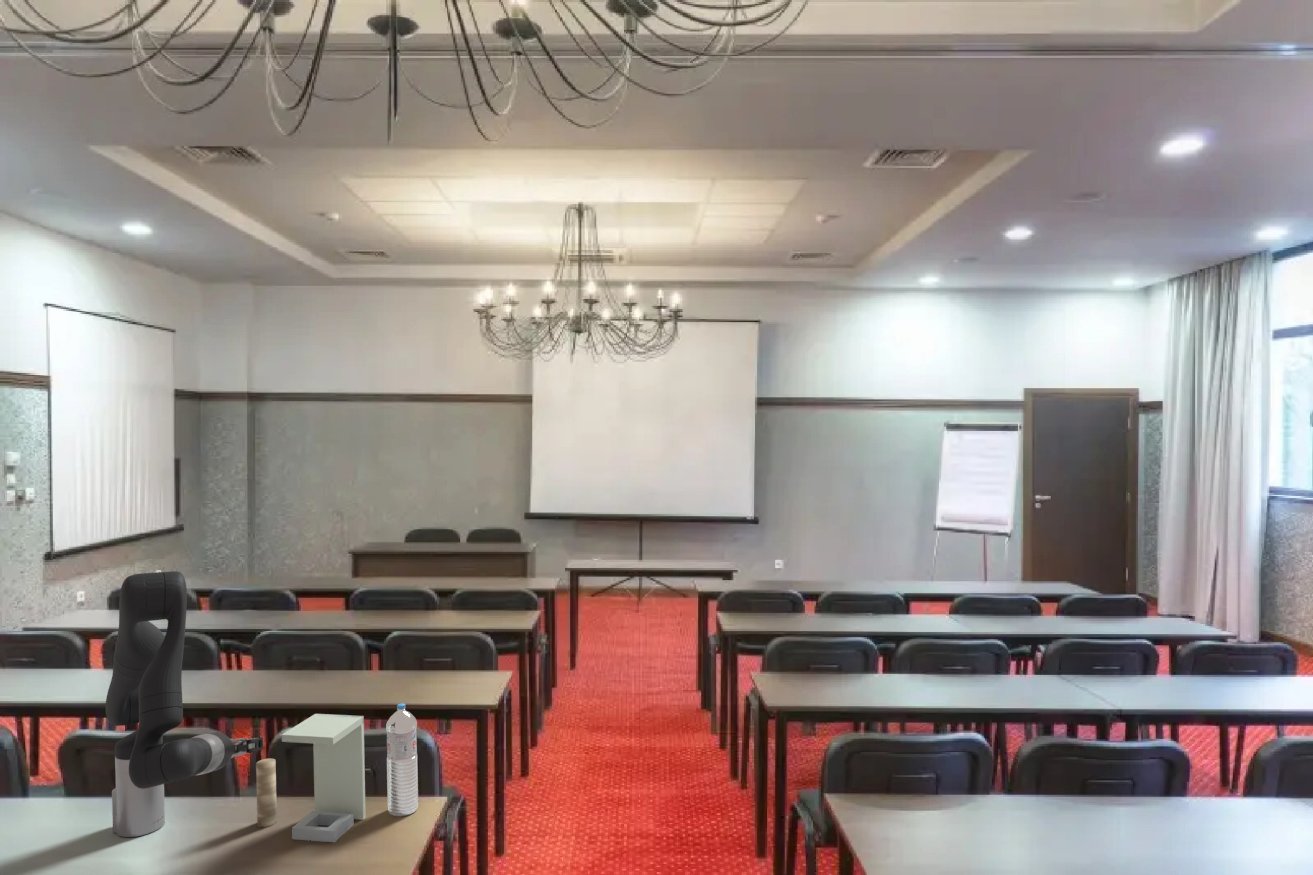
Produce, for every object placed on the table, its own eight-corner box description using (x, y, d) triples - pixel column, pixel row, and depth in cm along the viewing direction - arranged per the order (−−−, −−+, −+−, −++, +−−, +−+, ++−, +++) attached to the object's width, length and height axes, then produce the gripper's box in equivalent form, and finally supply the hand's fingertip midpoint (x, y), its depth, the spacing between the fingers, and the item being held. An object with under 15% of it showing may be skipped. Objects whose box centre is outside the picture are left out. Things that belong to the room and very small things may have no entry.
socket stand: (283, 842, 183) (281, 734, 182) (317, 814, 195) (315, 713, 195) (335, 846, 181) (333, 737, 180) (365, 817, 194) (363, 716, 193)
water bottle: (409, 818, 193) (407, 710, 192) (382, 816, 194) (380, 708, 194) (423, 805, 200) (421, 700, 199) (396, 802, 201) (395, 698, 200)
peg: (253, 826, 190) (252, 765, 190) (264, 818, 194) (263, 758, 193) (269, 827, 189) (268, 766, 189) (280, 819, 193) (279, 759, 193)
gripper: (241, 729, 171) (271, 723, 186) (167, 739, 170) (204, 732, 185) (241, 768, 169) (272, 759, 185) (167, 778, 168) (204, 768, 183)
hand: (238, 745), depth 185 cm, fingers open, 8 cm apart
